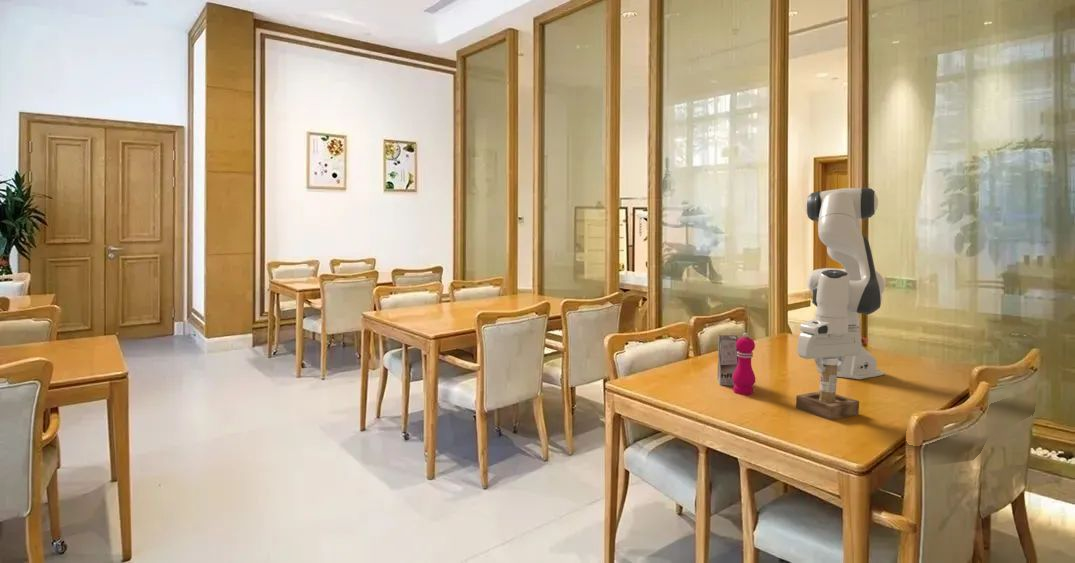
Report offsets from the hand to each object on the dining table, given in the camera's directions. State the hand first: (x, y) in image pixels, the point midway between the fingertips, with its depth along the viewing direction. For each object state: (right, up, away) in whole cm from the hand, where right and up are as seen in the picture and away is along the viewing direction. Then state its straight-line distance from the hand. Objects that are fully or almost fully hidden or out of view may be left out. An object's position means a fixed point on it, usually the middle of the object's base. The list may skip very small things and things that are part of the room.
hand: (828, 371), depth 178 cm
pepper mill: (-18, -10, +21) cm, 30 cm away
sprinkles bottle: (0, -9, +1) cm, 9 cm away
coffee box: (-20, -9, +33) cm, 39 cm away
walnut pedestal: (0, -12, +1) cm, 12 cm away
